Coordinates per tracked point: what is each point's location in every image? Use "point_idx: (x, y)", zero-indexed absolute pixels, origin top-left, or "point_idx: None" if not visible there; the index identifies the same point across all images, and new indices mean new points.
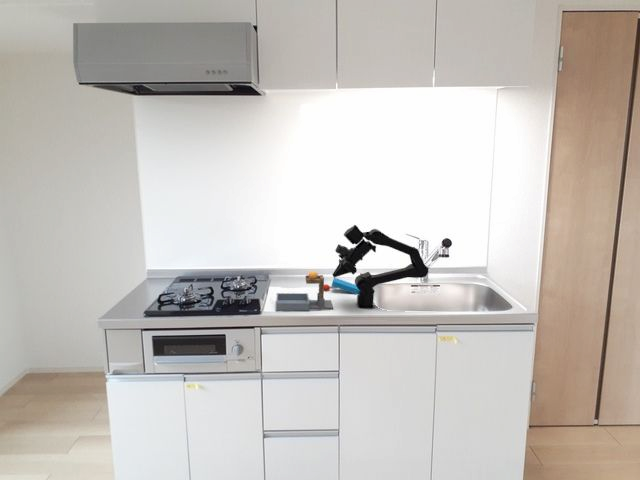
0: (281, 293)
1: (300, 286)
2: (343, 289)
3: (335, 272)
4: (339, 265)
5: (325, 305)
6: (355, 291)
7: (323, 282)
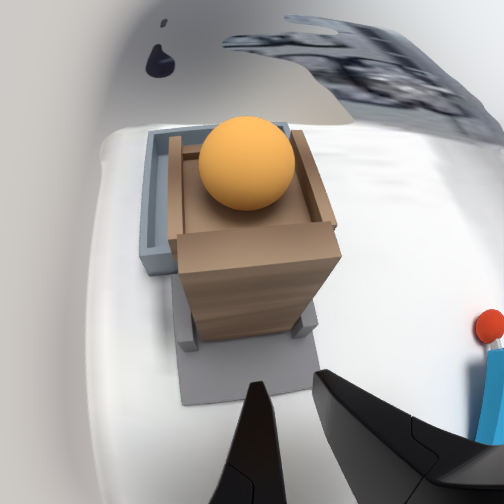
0: (289, 135)
1: (478, 223)
2: (480, 418)
3: (252, 419)
4: (424, 482)
5: (212, 358)
6: None
7: (184, 286)
